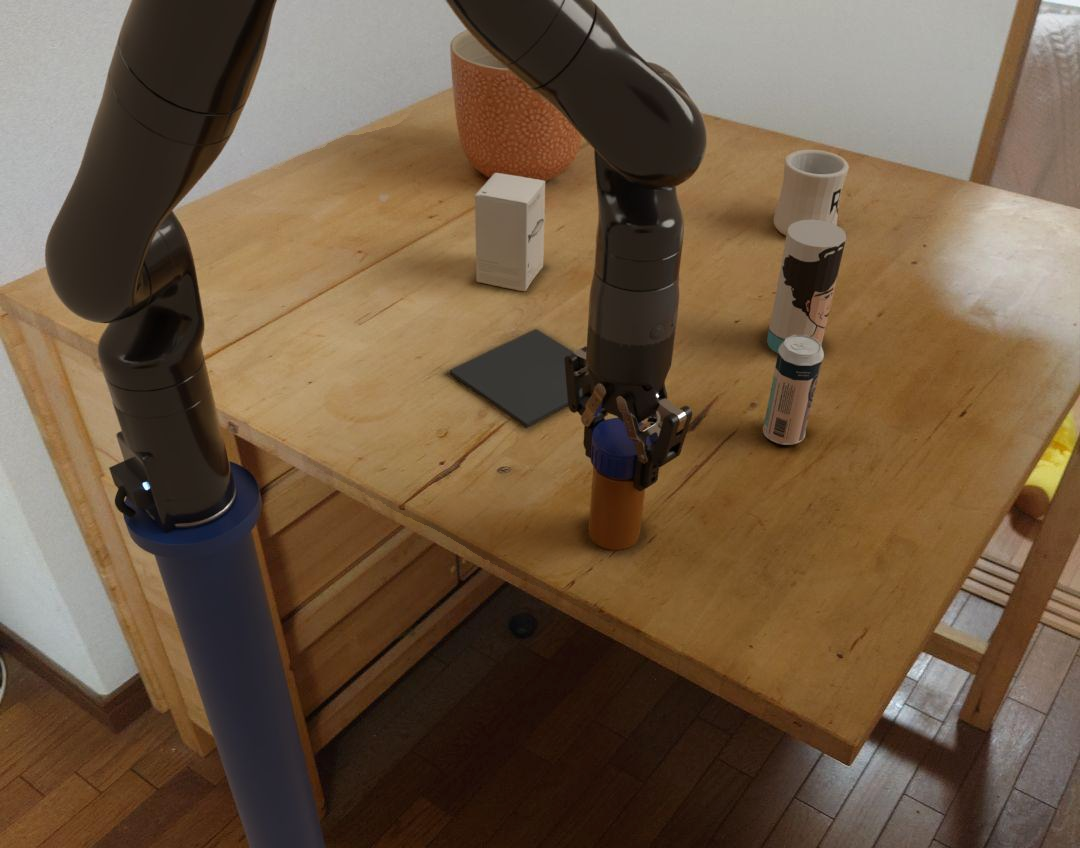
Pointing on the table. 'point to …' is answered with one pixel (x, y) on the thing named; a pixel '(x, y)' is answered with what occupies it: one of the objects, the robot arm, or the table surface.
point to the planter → (506, 118)
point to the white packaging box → (509, 231)
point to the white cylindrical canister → (806, 281)
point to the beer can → (793, 389)
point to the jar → (614, 512)
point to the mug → (810, 188)
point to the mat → (520, 377)
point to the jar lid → (613, 449)
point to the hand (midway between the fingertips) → (618, 469)
